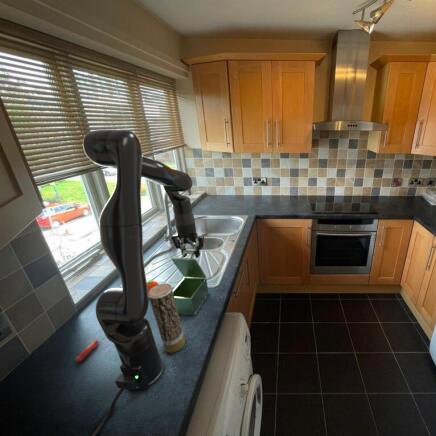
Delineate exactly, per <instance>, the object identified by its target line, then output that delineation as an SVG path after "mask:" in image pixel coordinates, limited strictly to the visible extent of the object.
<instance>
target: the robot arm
mask: <svg viewBox="0 0 436 436" xmlns="http://www.w3.org/2000/svg"><path fill="white" fill-rule="evenodd" d="M82 147H83V151H84V154H85V156H86V157H87V158H88V159H89V160H90V161H91V162H92V163H94V164H95V165H96V164H97V165H98V166H101V167H107V168H111V169H116V182H115V185H114V186H115V187H114V189H113V192H112V193H111V195H110V197H109V199H108V200H107V202H106V204H105V205H104V207H103V209H102V210H101V213H100V214H99V215H100V216H99V221H98V223H99V238H100V244H101V247H102V249H103V251H104V252H105V255H106V256H107V258H108V259H109V260H110V261H111V263H112V264H113V266H114V267H115V269H116V270H117V273H118V274H119V277H120V281H121V287H111V288H108V289H105V291H103V292H102V293H101V294H100V296H99V297H98V298H97V301H96V304H95V316H96V319H97V322H98V324H99V326H100V328H101V330H102V331H103V333H104V335H105V337H106V338H107V340H108V341H110V342H111V343H113V345H114V348H115V350H116V352H117V354H118V357H119V360H120V362H121V365H120V366H119V369H120V372H121V373H120V374H119V375H118V376H117V378H116V379H115V381H114V382H115V384H116V387H117V389H119V390H118V392H117V394H116V395H115V396H114V398H113V400H112V402H111V403H110V407H109V409H108V411H107V412H106V414H105V416H104V417H103V419H102V420H101V422H100V424H99V425H98V426H97V428H96V429H95V430H94V432H93V433H92V434H91V436H97V435H98V434H99V432H100V431H101V430H102V429H103V427H104V425H105V423H107V420H108V419H109V417H110V416H111V414H112V412H113V411H114V409H115V406H116V403H117V402H118V400H119V398H120V396H122V393H123V392H124V390H130V391H131V390H132V391H136V390H140V391H141V390H142V391H147V390H148V389H149V387H150V386H152V385H154V384H155V383H156V382H157V381H158V380H159V379H160V378H161V376H162V375H163V373H164V368H165V367H164V363H163V361H162V358H161V355H160V352H159V348H158V346H157V343H156V340H155V337H154V334H153V330H152V328H151V327H152V326H151V324H150V322H149V320H148V319H147V318H145V317H146V315H147V313H148V309H149V304H150V300H149V295H148V288H147V282H148V281H147V276H146V269H145V261H144V260H145V259H144V243H143V241H144V234H143V233H144V232H143V216H142V178H144V179H146V180H149V181H151V182H153V183H156V184H158V185H160V186H162V188H163V190H164V192H165V194H166V195H167V197H168V199H169V201H170V204H171V208H172V213H173V219H174V225H175V230H176V233H174V234H173V235H172V236H171V237H170V238H171V240H172V242H173V245H174V247H175V249H177V250H178V249H179V250H180V253H181V256H182V255H183V250H187V247H186V246H187V245H190V246H191V247H192V248H193V250H195V251H194V252H195V254H194V257H195V258H194V259H198V258H199V257H200V256H201V252H200V251H201V250H202V249H203V248H204V244H205V235H202V234H201V235H199V234H198V233H197V226H196V220H195V215H194V212H193V207H192V201H191V199H190V197H189V196H186V195H183V194H181V192H182V193H183V192H184V193H185V192H188V191H190V190H191V189H192V187H193V179H192V177H191V176H190V175H189V174H188V173H186V172H184V171H181V170H178V169H175V168H172V167H170V166H168V165H167V164H165V163H163V162H161V161H159V160H157V159H154V158H151V157H147V156H144V155H143V147H142V142H141V140H140V138H139V137H138V135H137V134H136V133H134V132H133V131H131V130H128V129H97V130H92V131H90V132H88V133H86V135H85V136H84V138H83V141H82ZM187 256H188V254H185V256H184V258H187Z"/></svg>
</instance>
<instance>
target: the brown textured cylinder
mask: <svg viewBox="0 0 436 436" xmlns="http://www.w3.org/2000/svg"><path fill="white" fill-rule="evenodd" d="M158 284H159V283H158ZM148 295H149V304H150V306H151V309H152V312H153V317H154V319H155V322H156V326H157V329H158V332H159V336H160V339H161V341H162V345H163V348H164V350H165V352H166V353H170V354H172V353H176V352H179V351H180V350H181V349H182V348H183V347H184V345H185V343H186V339H185V335H184V331H183V326H182V323H181V320H180V314H178V310H177V307H176V303H175V299H174V295H173V287H172V285H171V284H169V283H160V284H159V285H156V286H154V287H153V288H151V289H150V290H149V292H148Z"/></svg>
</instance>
